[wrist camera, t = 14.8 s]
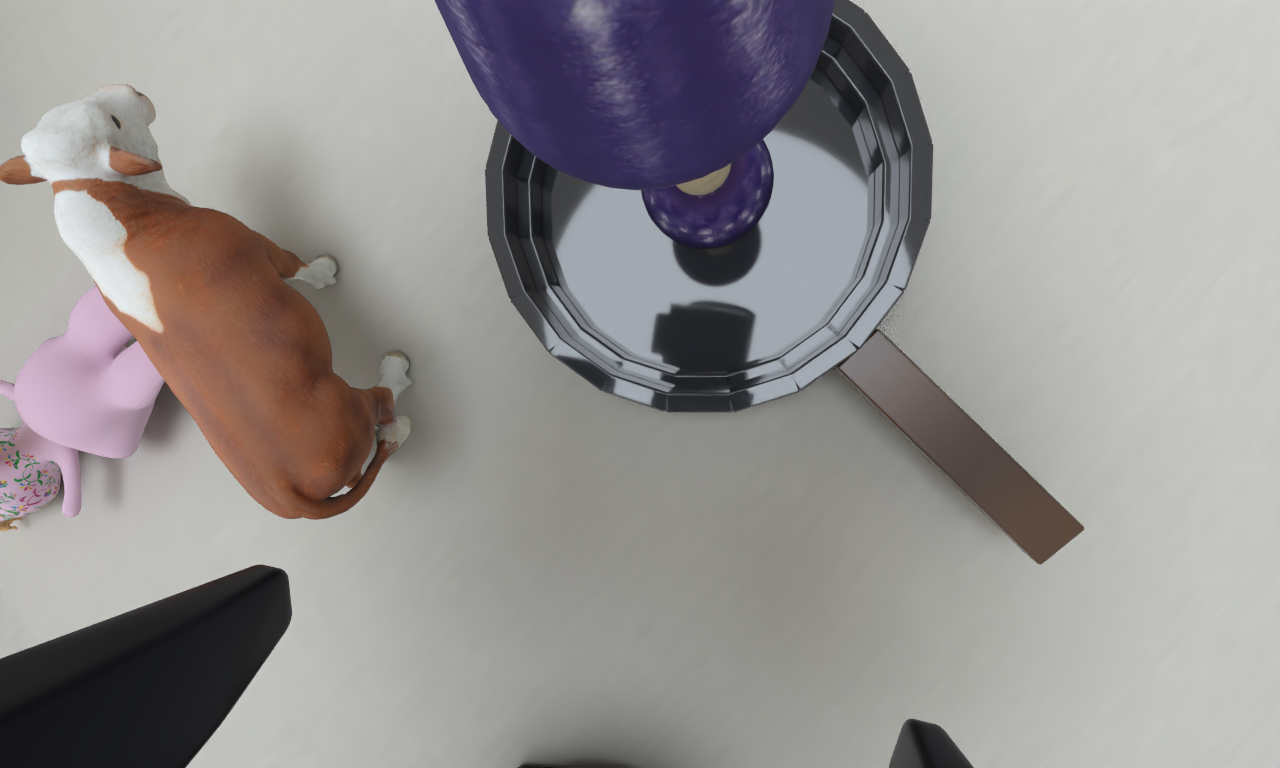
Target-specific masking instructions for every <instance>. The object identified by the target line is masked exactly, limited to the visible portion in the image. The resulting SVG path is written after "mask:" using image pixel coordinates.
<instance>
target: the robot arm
mask: <svg viewBox="0 0 1280 768" xmlns="http://www.w3.org/2000/svg"><path fill="white" fill-rule="evenodd" d="M291 616H292V607H291V598H290V589H289V580H288V575H287V574H286V572H285V571H284V570H282V569H279V568H275V567H270V566H266V565H255V566H252V567H249V568H246V569H244V570H241V571H238V572H235V573H233V574H230V575H227V576H224V577H222V578H219V579H216V580H214V581H211V582H208V583H205V584H203V585H200V586H197V587H195V588H192V589H189V590H186V591H184V592H181V593H178V594H175V595H173V596H170V597H167V598H165V599H162V600H159V601H156V602H154V603H151V604H148V605H146V606H143V607H140V608H137V609H135V610H132V611H129V612H126V613H124V614H121V615H118V616H116V617H113V618H110V619H107V620H105V621H102V622H99V623H97V624H94V625H91V626H88V627H86V628H83V629H80V630H77V631H75V632H72V633H69V634H67V635H64V636H61V637H58V638H56V639H53V640H50V641H48V642H45V643H42V644H39V645H37V646H34V647H31V648H28V649H26V650H23V651H20V652H18V653H15V654H12V655H9V656H7V657H4V658H1V659H0V768H186V766H187V765H188V764H189V763H190V762H191V760H192V759H193V758H194V757H195V756H196V754H197V753H198V752H199V751H200V749H201V748H202V747H203V746H204V745H205V743H206V742H207V741H208V740H209V738H210V737H211V736H212V735H213V733H214V732H215V731H216V730H217V728H218V727H219V726H220V725H221V723H222V722H223V720H224V719H225V718H226V716H227V715H228V714H229V712H230V711H231V710H232V708H233V707H234V705H235V704H236V702H237V701H238V700H239V698H240V697H241V695H242V694H243V692H244V691H245V689H246V688H247V687H248V685H249V684H250V682H251V681H252V679H253V678H254V676H255V675H256V674H257V672H258V671H259V669H260V668H261V666H262V665H263V663H264V662H265V660H266V659H267V658H268V656H269V655H270V653H271V652H272V650H273V649H274V647H275V646H276V645H277V643H278V642H279V640H280V639H281V637H282V636H283V634H284V633H285V632H286V630H287V628H288V626H289V624H290V621H291ZM518 768H551V767H541V766H531V765H522V766H520V767H518ZM889 768H974V767H973V766H972V765H971V763H970V762H969V761H968V760H967V758H966V757H965V756H964V755H963V753H962V752H961V751H960V749H959V748H958V747H957V746H956V744H955V743H954V742H953V741H952V739H951V738H950V737H949V735H948V734H947V733H946V732H945V731H944V729H942V728H941V727H940V726H938V725H936V724H932V723H928V722H924V721H920V720H915V719H908V720H906V722H905V723H904V724H903V726H902V729H901V732H900V735H899V738H898V741H897V744H896V746H895V749H894V752H893V755H892V758H891V761H890V765H889Z"/></svg>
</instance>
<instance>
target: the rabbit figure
mask: <svg viewBox="0 0 1280 768" xmlns="http://www.w3.org/2000/svg"><path fill="white" fill-rule="evenodd" d="M132 336H133V335H132V334H131V333H130V332H129V331H128V330H127V328H126V327H125V326H124V325H123V324H122V323H121V322H120V321H119V319H118V318H117V317H116V316H115V315H114V314H113V313H112V312H111V310H110V309H109V307H108V306H107V305H106V303H105V301H104V299H103V297H102V295H101V293H100V291H99V289H98V288H97V286H94V287H93V288H91V289H90V290H88V291H87V292H86V293H85V294H84V295H82V296H81V297H80V299H79V300H78V301H77V302H76V304H75V305H74V307H73V309H72V311H71V313H70V317H69V322H68V327H67V330H66V332H65V333H64V334H63V335H62V336H60V337H53V338H50V339H48V340H46V341H45V342H43V343H42V344H41V345H40V346H39V348H38V349H37V350H36V351H35V352H34V353H33V354H32V355H31V356H30V357H29V358H28V360H27V361H26V362H25V363H24V365H23V366H22V368H21V369H20V371H19V373H18V375H17V378H16V381H15V385H14V384H12V383H9V382H6V381H3V380H0V394H2V395H5V396H6V397H8V398H10V399H11V400H13V401H14V402H15V405H16V408H17V411H18V413H19V415H20V417H21V418H22V420H23V424H22V426H21V427H20V428H19V429H13V428H0V530H1V531H7V530H9V529H15V530H17V529H18V528H17V527H15V526H14V527H10V525H9V524H11V523H12V521H14V520H23V519H22V518H21V517H22V516H26V515H29V514H32V513H34V512H36V511H38V510H40V509H42V508H43V507H45V506H46V505H48V504H49V503H50V502H51V501H52V500H53V499H54V498H55V497H56V495H57V494H58V492H59V489H60V483H61V472H62V476H63V481H64V489H65V495H64V501H63V504H62V512H63V514H64V515H65V516H67V517H75V516H77V515H78V514H79V512H80V510H81V474H80V463H79V455H78V450H80V451H84V452H88V453H91V454H95V455H99V456H103V457H108V458H116V459H122V458H127V457H129V456H131V455H133V454H134V452H135V451H136V450H137V448H138V445H139V443H140V440H141V437H142V435H143V432H144V430H145V427H146V425H147V422H148V420H149V417H150V415H151V413H152V410H153V407H154V404H155V399H156V397H157V395H158V394H159V392H160V390H161V388H162V386H163V384H164V382H165V380H164V379H163V378H162V376H161V375H160V373H159V372H158V371H157V369H156V368H155V366H154V365H153V364H152V362H151V361H150V359H149V358H148V356H147V355H146V353H145V352H144V350H143V349H142V347H141V345H140V344H139V342H138V341H136V342H135V343H133V344H132V345H131V346H129V347H127V346H125V344H126V343H127V342H128V341H129V340H130V339H131V337H132ZM18 517H20V518H18Z"/></svg>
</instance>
